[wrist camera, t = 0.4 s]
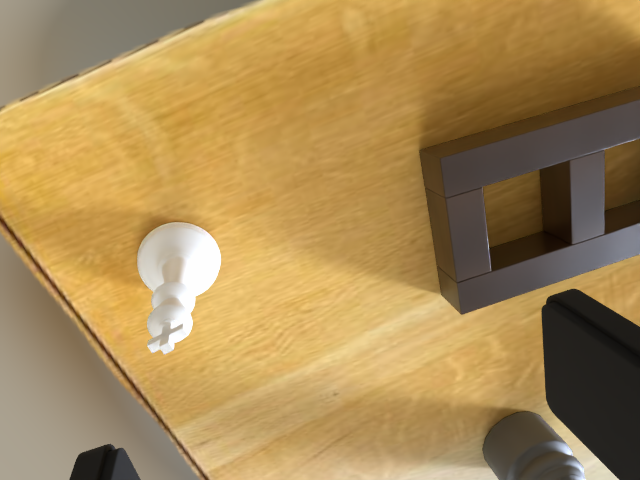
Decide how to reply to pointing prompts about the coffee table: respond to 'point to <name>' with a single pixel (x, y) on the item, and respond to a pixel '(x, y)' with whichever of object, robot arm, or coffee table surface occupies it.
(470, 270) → the socket block
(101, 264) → the coffee table surface
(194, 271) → the chess piece
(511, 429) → the candle holder
